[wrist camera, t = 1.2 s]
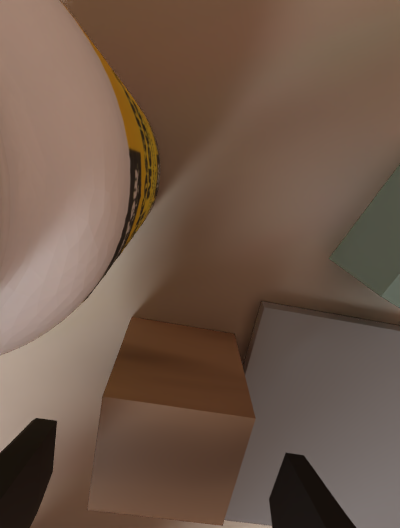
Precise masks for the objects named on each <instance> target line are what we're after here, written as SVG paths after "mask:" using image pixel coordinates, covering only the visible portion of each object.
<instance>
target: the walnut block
mask: <svg viewBox="0 0 400 528" xmlns="http://www.w3.org/2000/svg"><path fill="white" fill-rule="evenodd" d="M255 419H256V418H255V414H254V410H253V406H252V402H251V398H250V394H249V390H248V386H247V382H246V378H245V374H244V370H243V366H242V362H241V358H240V354H239V350H238V346H237V342H236V338H235V334H232V333H226V332H220V331H214V330H208V329H202V328H196V327H190V326H184V325H178V324H172V323H166V322H160V321H154V320H148V319H142V318H136V317H132V318H131V320H130V323H129V326H128V329H127V331H126V334H125V337H124V339H123V342H122V345H121V348H120V350H119V353H118V356H117V359H116V361H115V364H114V367H113V369H112V372H111V375H110V378H109V380H108V383H107V386H106V389H105V391H104V394H103V397H102V405H101V412H100V419H99V427H98V434H97V441H96V449H95V456H94V464H93V471H92V478H91V486H90V493H89V500H88V508H87V510H92V511H100V512H109V513H118V514H126V515H135V516H144V517H152V518H161V519H170V520H179V521H187V522H196V523H205V524H213V525H222V526H223V522H224V519H225V516H226V513H227V509H228V506H229V503H230V500H231V497H232V493H233V490H234V487H235V484H236V480H237V477H238V474H239V471H240V467H241V464H242V461H243V458H244V455H245V451H246V448H247V445H248V442H249V438H250V435H251V432H252V429H253V426H254V422H255Z"/></svg>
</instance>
